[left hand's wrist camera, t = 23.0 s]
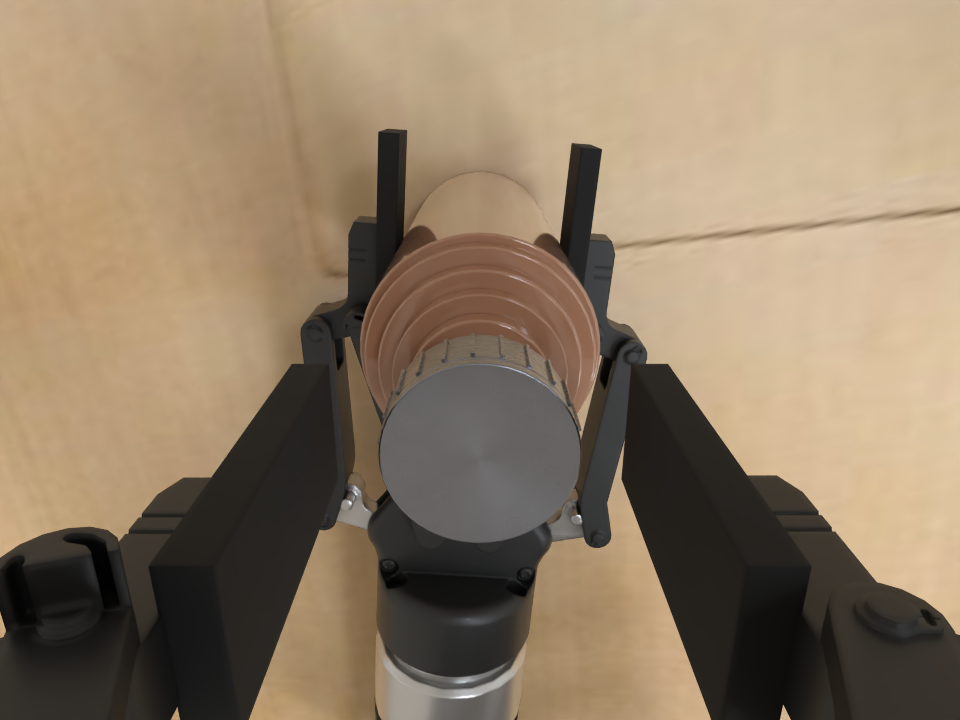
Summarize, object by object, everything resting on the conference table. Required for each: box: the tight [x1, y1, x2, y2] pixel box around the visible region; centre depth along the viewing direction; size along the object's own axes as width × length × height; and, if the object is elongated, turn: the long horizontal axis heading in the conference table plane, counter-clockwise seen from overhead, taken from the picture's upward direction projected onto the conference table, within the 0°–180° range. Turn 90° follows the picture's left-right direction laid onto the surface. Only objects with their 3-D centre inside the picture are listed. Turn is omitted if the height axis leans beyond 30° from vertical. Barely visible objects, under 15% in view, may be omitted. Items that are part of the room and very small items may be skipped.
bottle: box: [360, 172, 600, 413], centre depth 24 cm, size 6×6×21 cm
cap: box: [378, 333, 582, 543], centre depth 14 cm, size 4×4×2 cm
